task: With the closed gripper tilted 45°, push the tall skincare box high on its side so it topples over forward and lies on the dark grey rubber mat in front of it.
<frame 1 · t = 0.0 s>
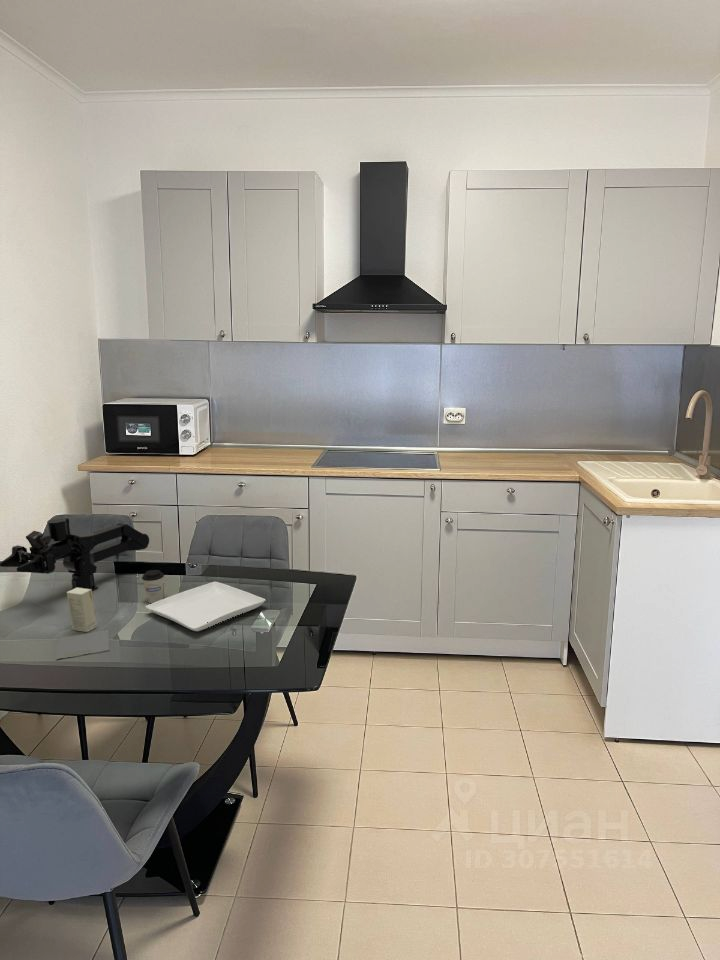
hand: (8, 567, 228), 17 cm above the table, tool horizontal, fingers open, 9 cm apart
skincare box: (84, 629, 221), on the table
coffee cup: (155, 601, 240), on the table
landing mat: (83, 645, 210), on the table
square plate: (206, 613, 230), on the table
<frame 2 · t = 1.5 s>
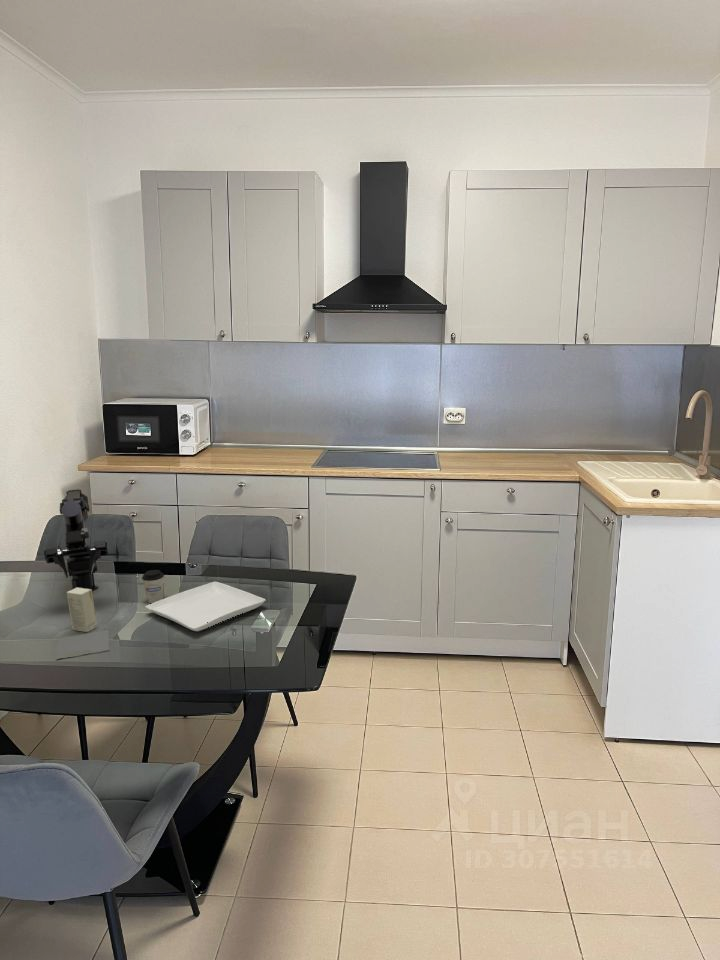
hand: (78, 575, 229), 13 cm above the table, tool tilted 45°, fingers open, 7 cm apart
nothing on the table moved.
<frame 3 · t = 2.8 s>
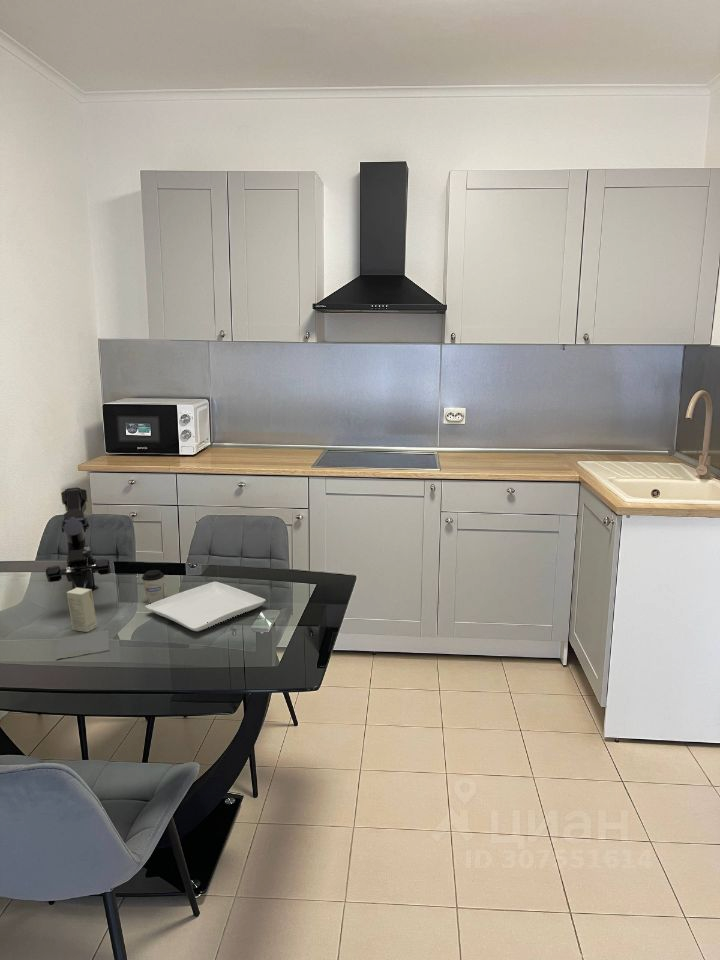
hand: (81, 595, 227), 8 cm above the table, tool tilted 45°, fingers closed
nothing on the table moved.
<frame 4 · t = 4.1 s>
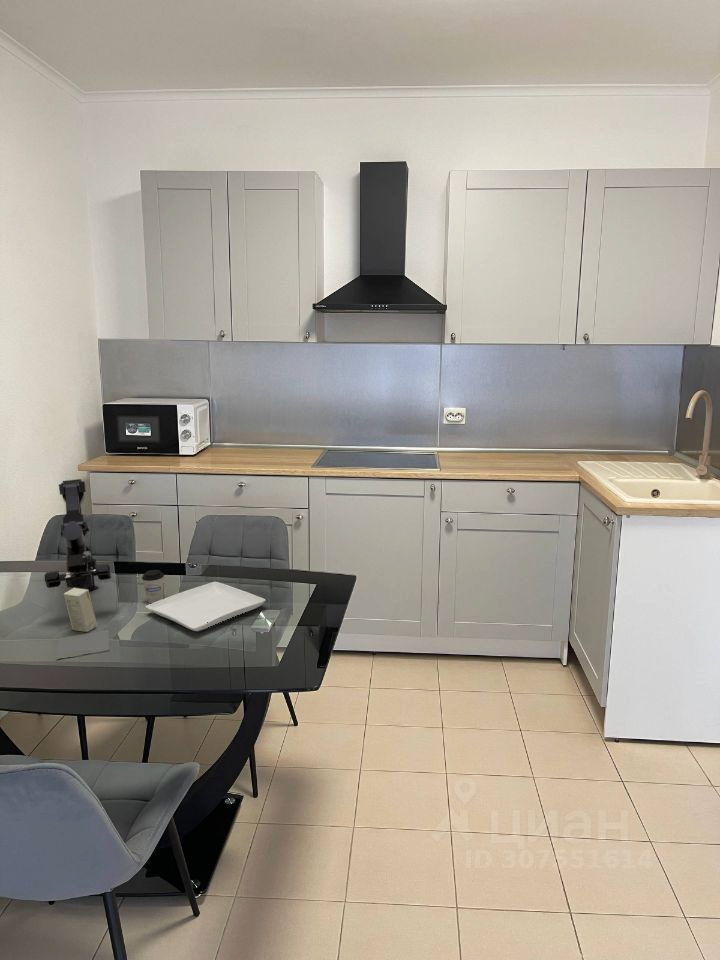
hand: (80, 600, 222), 8 cm above the table, tool tilted 45°, fingers closed
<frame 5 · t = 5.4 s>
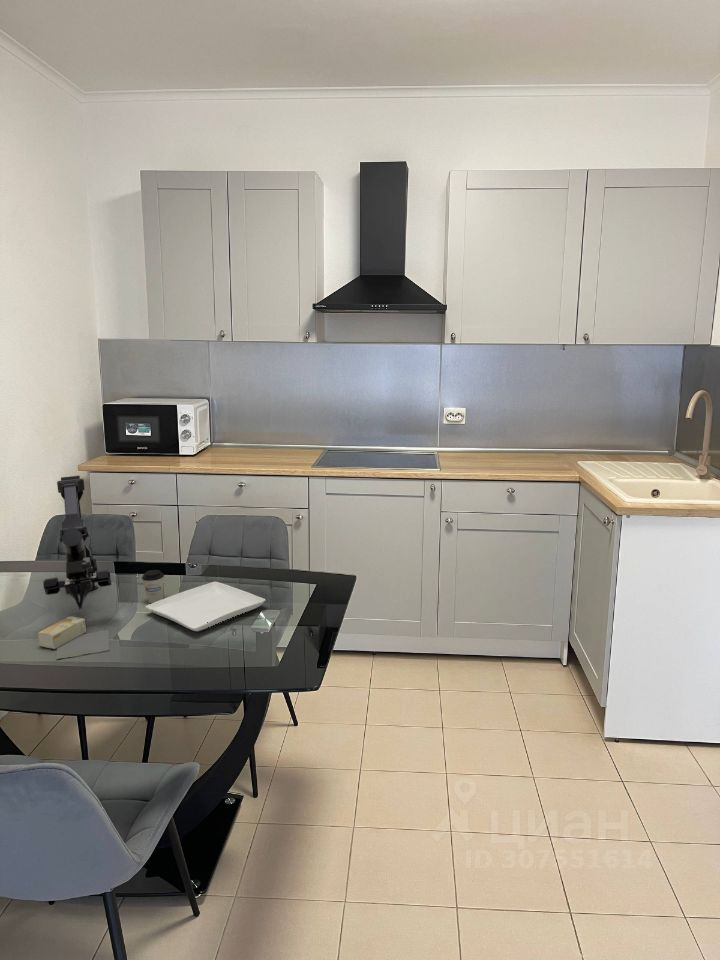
hand: (80, 608, 217), 8 cm above the table, tool tilted 45°, fingers closed
skincare box: (78, 623, 219), point 2 cm above the table, touching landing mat
everything else where it was.
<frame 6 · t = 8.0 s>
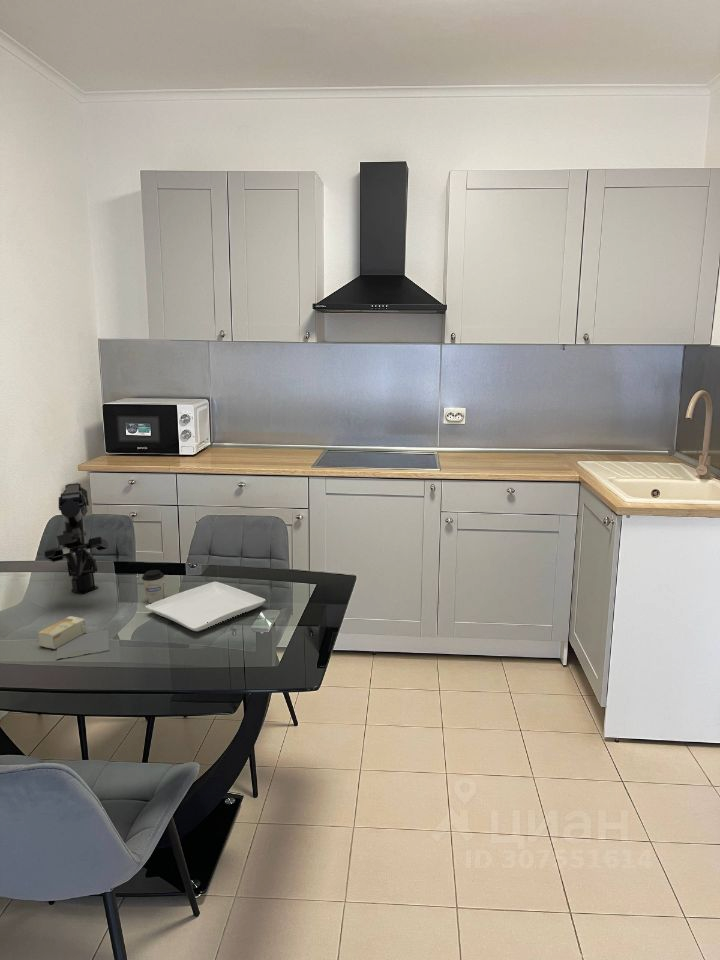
hand: (78, 575, 230), 12 cm above the table, tool tilted 35°, fingers closed
nothing on the table moved.
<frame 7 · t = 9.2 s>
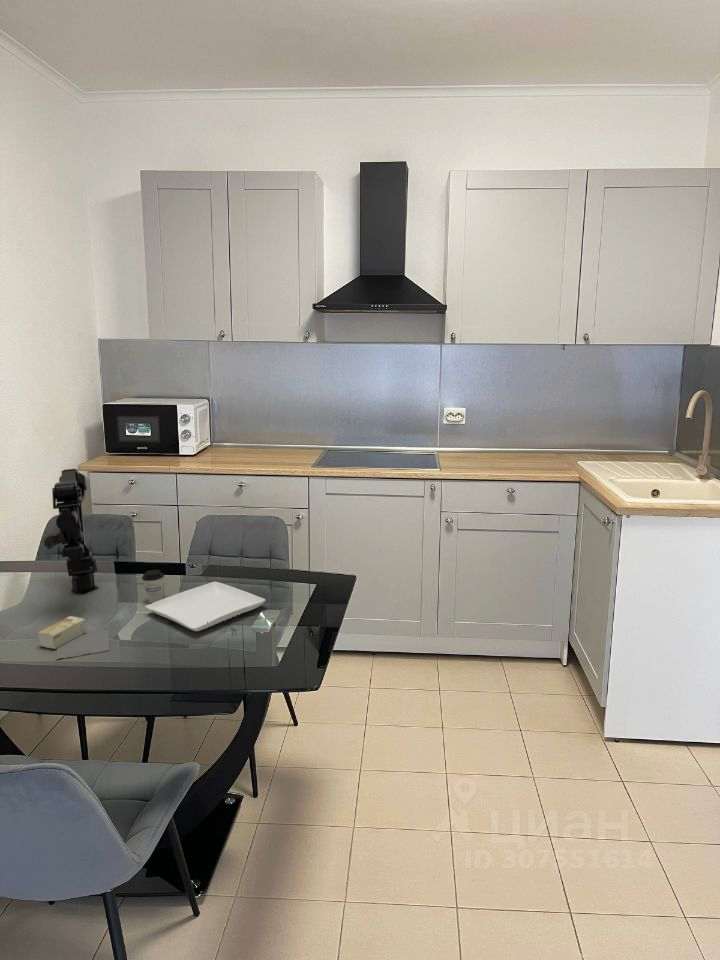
hand: (76, 569, 234), 13 cm above the table, tool pointing down, fingers closed
nothing on the table moved.
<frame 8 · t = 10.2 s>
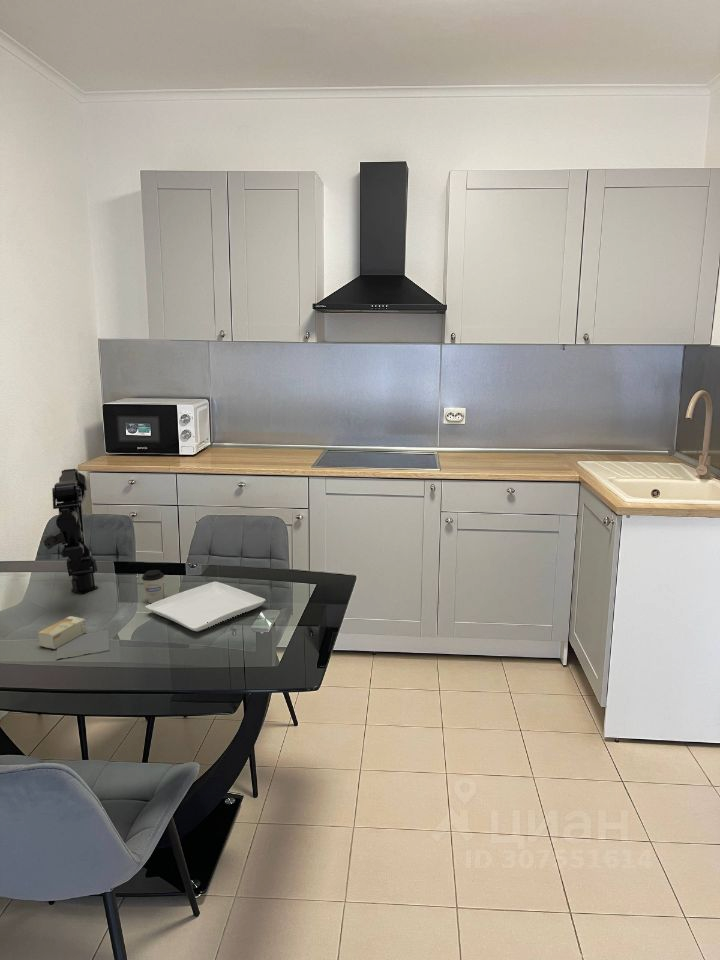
hand: (76, 569, 234), 13 cm above the table, tool pointing down, fingers closed
nothing on the table moved.
at the end: skincare box tilted 90°; skincare box 10.7 cm from the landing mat (horizontally) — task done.
